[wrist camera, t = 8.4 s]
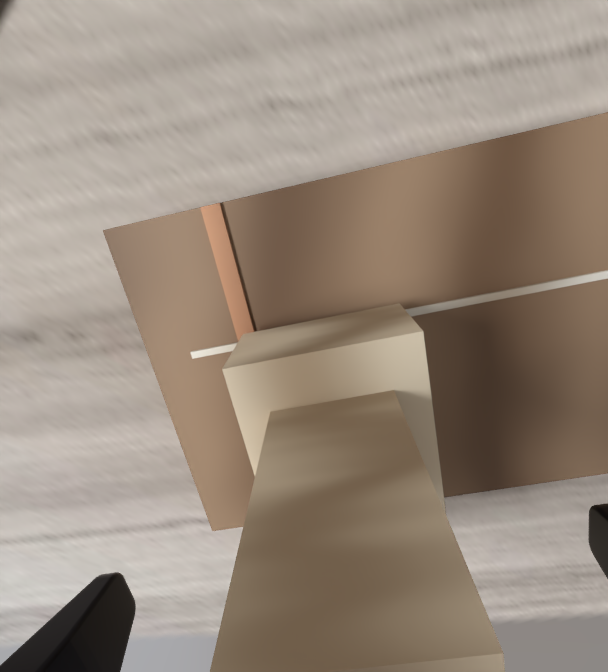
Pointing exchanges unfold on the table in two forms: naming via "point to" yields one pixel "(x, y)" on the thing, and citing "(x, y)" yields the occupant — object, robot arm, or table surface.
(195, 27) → the table surface
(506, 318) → the walnut board
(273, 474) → the block
